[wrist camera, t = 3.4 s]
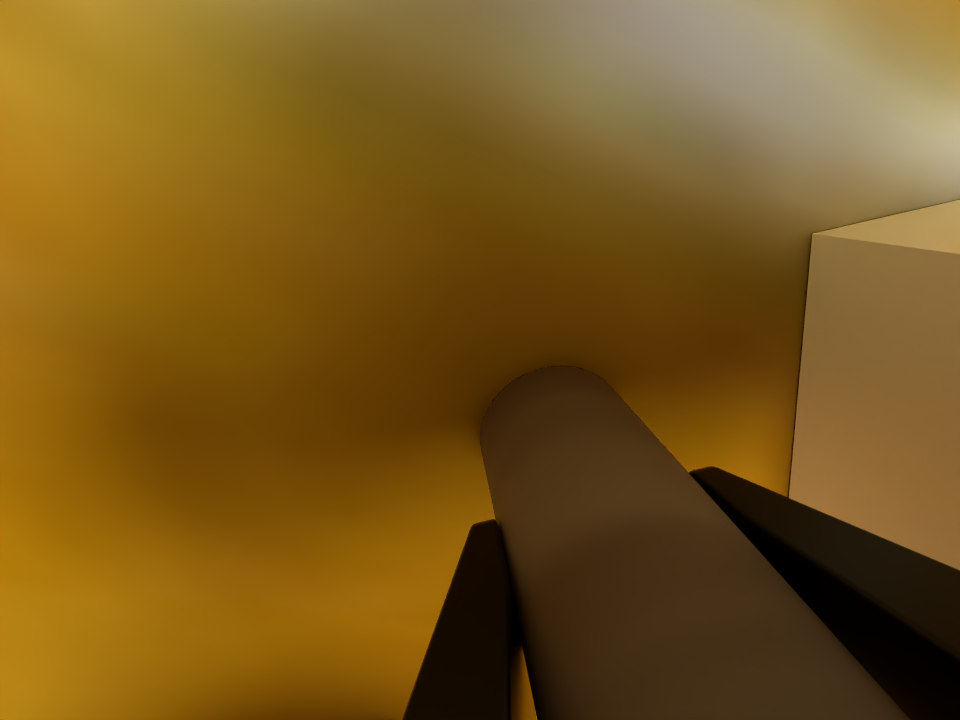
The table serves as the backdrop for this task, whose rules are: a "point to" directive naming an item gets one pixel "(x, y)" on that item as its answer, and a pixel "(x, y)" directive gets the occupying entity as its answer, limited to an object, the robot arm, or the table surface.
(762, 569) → the peg
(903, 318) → the tray
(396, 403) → the table surface
